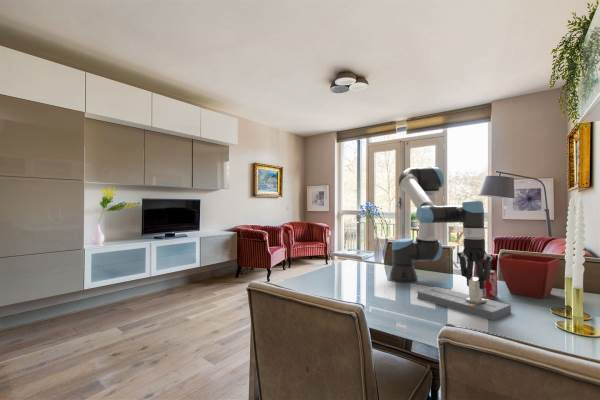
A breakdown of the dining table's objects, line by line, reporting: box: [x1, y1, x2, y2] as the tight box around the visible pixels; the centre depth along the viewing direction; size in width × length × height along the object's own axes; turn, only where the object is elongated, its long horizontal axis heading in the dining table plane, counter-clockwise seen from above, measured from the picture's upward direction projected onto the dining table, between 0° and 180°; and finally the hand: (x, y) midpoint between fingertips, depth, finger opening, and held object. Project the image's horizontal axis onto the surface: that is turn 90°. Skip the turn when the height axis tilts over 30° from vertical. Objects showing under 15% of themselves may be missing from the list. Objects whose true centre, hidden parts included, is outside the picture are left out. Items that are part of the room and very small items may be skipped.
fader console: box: [417, 286, 512, 321], centre depth 123 cm, size 14×32×3 cm, turn 31°
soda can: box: [482, 268, 498, 299], centre depth 133 cm, size 7×7×12 cm
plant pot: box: [497, 253, 560, 299], centre depth 137 cm, size 19×19×17 cm
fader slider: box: [466, 277, 487, 305], centre depth 117 cm, size 6×5×9 cm
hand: (475, 295), depth 117 cm, fingers closed on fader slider, 2 cm apart
